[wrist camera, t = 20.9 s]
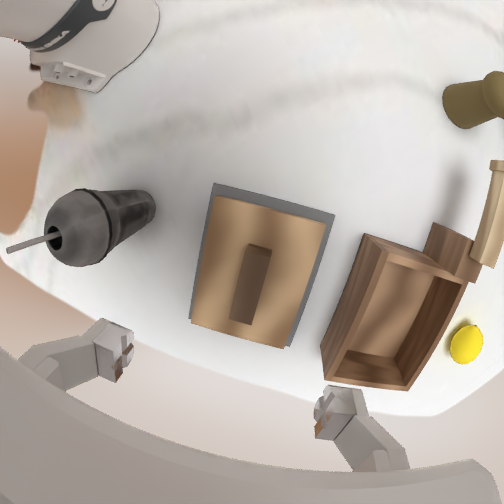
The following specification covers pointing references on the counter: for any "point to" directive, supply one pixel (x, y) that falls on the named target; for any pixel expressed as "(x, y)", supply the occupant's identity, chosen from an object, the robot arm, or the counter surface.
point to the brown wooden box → (396, 309)
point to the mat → (279, 206)
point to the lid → (254, 270)
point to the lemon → (466, 344)
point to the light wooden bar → (491, 220)
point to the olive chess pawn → (475, 101)
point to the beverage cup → (92, 224)
